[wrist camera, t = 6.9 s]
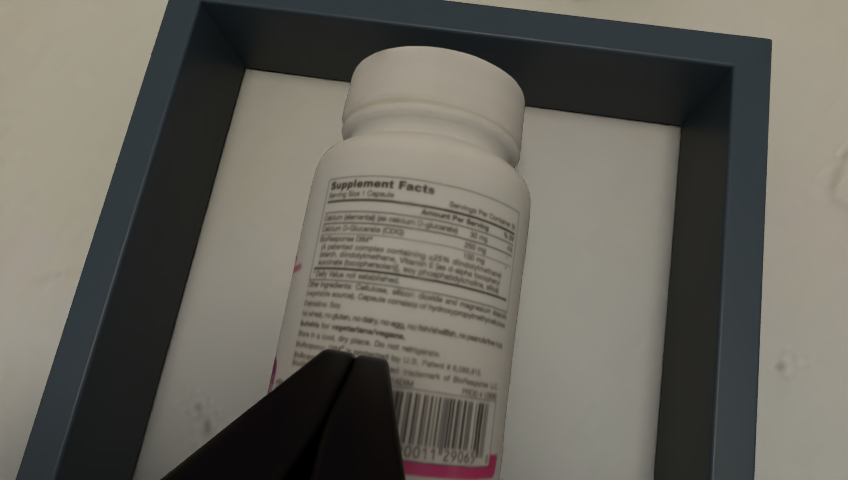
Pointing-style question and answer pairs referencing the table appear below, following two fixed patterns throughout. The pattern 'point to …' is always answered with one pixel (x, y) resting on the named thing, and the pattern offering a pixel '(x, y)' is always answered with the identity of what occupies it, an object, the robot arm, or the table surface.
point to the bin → (337, 59)
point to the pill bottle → (420, 251)
